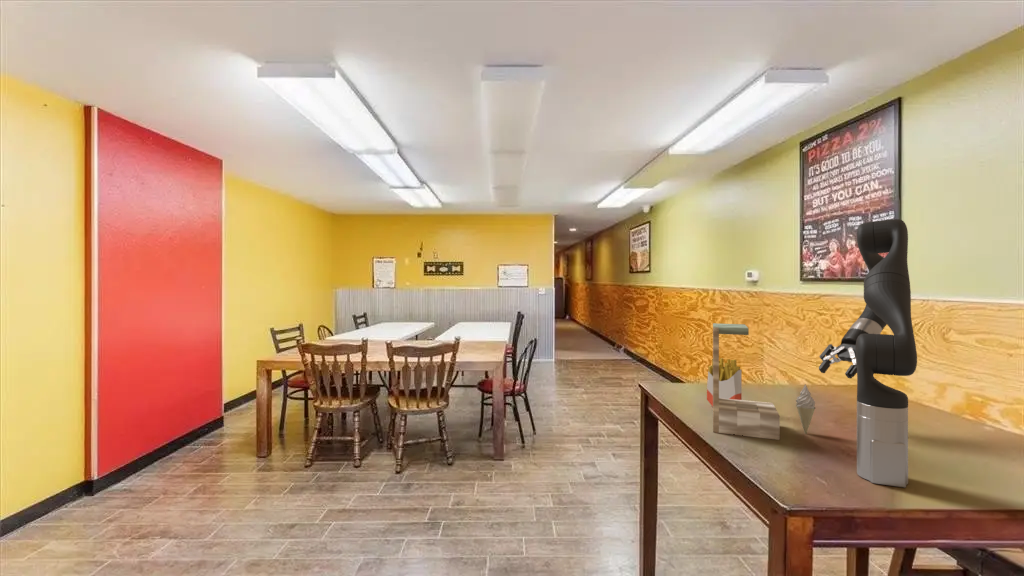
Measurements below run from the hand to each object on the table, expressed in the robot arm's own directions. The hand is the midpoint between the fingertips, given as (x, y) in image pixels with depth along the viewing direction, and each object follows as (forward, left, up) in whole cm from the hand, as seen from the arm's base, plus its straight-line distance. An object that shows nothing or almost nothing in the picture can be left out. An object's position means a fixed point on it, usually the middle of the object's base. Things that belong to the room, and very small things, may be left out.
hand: (834, 373), depth 141 cm
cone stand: (-9, +25, -17) cm, 32 cm away
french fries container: (+14, +31, -18) cm, 38 cm away
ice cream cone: (-7, +9, -18) cm, 21 cm away
